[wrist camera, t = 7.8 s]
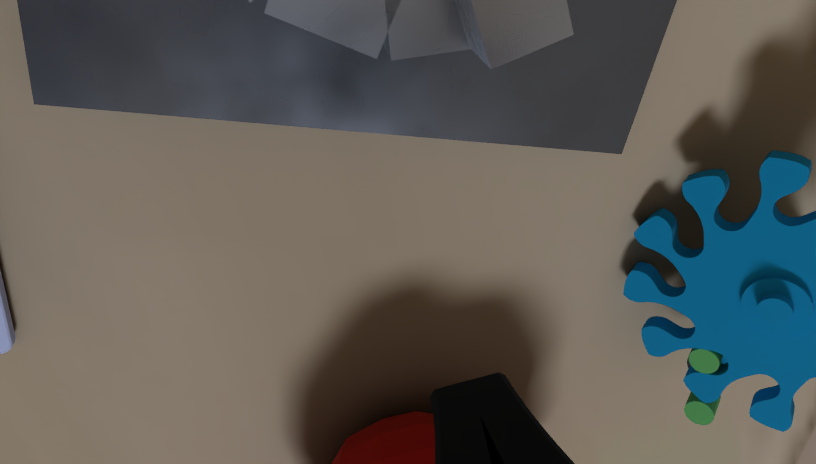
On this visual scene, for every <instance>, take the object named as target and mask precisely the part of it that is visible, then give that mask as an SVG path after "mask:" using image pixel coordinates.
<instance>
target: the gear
mask: <svg viewBox="0 0 816 464" xmlns="http://www.w3.org/2000/svg"><path fill="white" fill-rule="evenodd" d="M811 167H812V164H811V160H809V159H807V158H805V157H803V156H800V155H797V154H793V153H789V152H782V151H774V150H772V151H771V152H770V153H769V154H768V155H767V156H766V158H765V159H764V161H763V163H762V165H761V168H760V172H759V176H760V181H761V189H762V193H761V199H760V203H759V204H758V206H757V208H756V209H755V210H754V212H753V213H752V214H751V215H750V217H749V218H748V219H746V220H745V221H743V222H739V223H732V222H729V221H727V220H725V219H724V218H722V217H721V215H720V214H719V211H718V205H719V203H720V202H721V201H722V199H723V197H724V196H725V194H726V192H727V191H728V189H729V185H730V180H729V176H728V174H727V173H726V172H725V170H724V169H710V170H705V171H701V172H698V173H695V174H692V175H689V176H688V177H687V179H686V180H685V181H684V182H683V186H682V192H683V196H684V197H685V199H686V200H687V201H688V202H689V203H690V204H691V205H692V206H693V208H694V209H695V210H696V212H697V213H698V215H699V217H700V219H701V222H702V225H703V230H704V247H702V248H699V249H690V248H687V247H685V246H684V245H682V244H681V242H680V241H679V239H678V225H677V220H676V218H675V216H674V215H673V214H672V213H671V212H670V211H668V210H667V209H664V208H662V209H659V210H657V211H655V212H654V213H652V214H651V215H650V216H649V217H648V218H647V219H646V220H645V221H644V222H643V223H642V224H641V225H640V227H639V228H638V229H637V230H636V231H635V233H634V235H635V238H636V239H637V241H638V242H639V243H640V244H641V245H643V246H645V247H647V248H650V249H653V250H655V251H657V252H659V253H660V254H662V255H663V256H665V257H666V258H667V259H668V260H670V261H671V262H672V263H673V264H674V266H675V267H676V268H677V270H678V271H679V273H680V274H681V276H682V277H683V279H684V281H685V284H686V286H684V287H679V288H678V287H673V286H670V285H668V284H667V283H666V282H665V281H664V279H663V278H662V276H661V275H660V273H659V272H658V270H657V269H656V268H655V267H654V266H652V265H650V264H648V263H645V262H638V263H637V264H636V265H635V267H634V268H633V269H632V271H631V272H630V273H629V275H628V277H627V279H626V282H625V286H624V295H625V296H626V297H627V298H628V299H630V300H632V301H635V302H655V303H659V304H663V305H666V306H669V307H671V308H673V309H675V310H677V311H679V312H680V313H682V314H683V315H685V316H687V317H688V318H689V319H691V320H692V322H693V323H694V325H695V327H693V328H682V327H680V326H678V325H676V324H675V323H673V322H672V321H670V320H668V319H666V318H664V317H659V316H655V317H651V318H649V319H648V320H647V321H646V323H645V324H644V326H643V328H642V339H643V342H644V345H645V347H646V349H647V352H648V354H650V355H652V356H657V357H661V356H665V355H667V354H669V353H671V352H673V351H676V350H679V349H685V348H692V350H691V352H690V355H689V357H688V360H687V365H688V368H689V369H688V371H687V373H686V376H685V378H684V380H683V381H684V382H685V384H686V386H687V387H688V388H689V389H690V391H691V393H690V395H689V398H688V400H687V403H686V405H685V408H684V412H685V414H686V416H687V417H688V418H689V419H690V420H691V421H692V422H694V423H696V424H700V425H707V424H709V423H711V422H712V421H713V419H714V416H715V413H716V410H717V408H718V405H719V402H720V398H721V396H720V395H721V393H722V391H723V390H724V389H725V387H726V386H727V385H729V384H730V383H731V382H733V381H735V380H737V379H740V378H743V377H746V376H750V375H755V374H765V375H768V376H770V377H772V378H774V379H775V380H776V381H777V382H778V384H779V385H777V386H773V387H769V388H764V389H761V390H759V391H757V392H756V393H755V395H754V397H753V400H752V404H751V408H750V417H752V418H753V419H755V420H756V421H758V422H760V423H762V424H764V425H766V426H768V427H771V428H774V429H777V430H780V431H783V432H784V431H786V430H788V429H789V428H790V427H791V425H792V420H793V415H794V407H795V406H794V402H793V396H794V394H795V392H796V391H797V390H798V389H799V388H800V387H801V386H802V385H803V384H804V383H805V382H806V381H807V380H809V379H811V378H814V377H816V211H814V212H812V213H809V214H807V215H804V216H801V217H789V216H786V215H784V214H782V213H781V212H780V211H779V210H778V208H777V206H776V201H777V200H778V199H780V198H782V197H783V196H786V195H788V194H791V193H793V192H795V191H797V190H799V189H801V188H802V187H803V186H804V185H805V184H806V182H807V181H808V178H809V175H810V172H811Z"/></svg>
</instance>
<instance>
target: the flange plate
mask: <svg viewBox="0 0 816 464" xmlns="http://www.w3.org/2000/svg"><path fill="white" fill-rule="evenodd" d="M676 1H677V0H567V4H568V9H569V14H570V19H571V23H572V28H573V33H574V35H572V36H569V37H567V38H565V39H562V40H560V41H558V42H555V43H553V44H550V45H548V46H546V47H543V48H541V49H539V50H536V51H534V52H532V53H529V54H527V55H525V56H522V57H520V58H518V59H515V60H513V61H510V62H508V63H506V64H503V65H501V66H499V67H496V68H494V69H492V70H491V69H490V68H489V67H488V66H487V65H486V64H485V63H484V62H483V61H482V60H481V59H480V58H479V57H478V56H477V55H476V54H475V53H474V52H473V51H472V50H471V49H469V50H462V51H455V52H448V53H441V54H434V55H427V56H421V57H414V58H407V59H400V60H393V61H391V59H390V57H389V55H388V54H387V52H386V50H385V48H384V46H383V45H382V48H381V50H380V52H379V55H378V57H377V59H375V58H373V57H371V56H368V55H366V54H363V53H361V52H358V51H356V50H353V49H351V48H349V47H346V46H344V45H341V44H339V43H336V42H334V41H331V40H329V39H326V38H324V37H322V36H319V35H317V34H314V33H312V32H309V31H307V30H304V29H302V28H299V27H297V26H295V25H292V24H290V23H287V22H285V21H282V20H280V19H277V18H275V17H273V16H270V15H268V14H265V13H264V11H265V5H266V0H253V1H252V2H251V3H250V2H249V1H248V0H17V2H18V8H19V15H20V21H21V27H22V33H23V39H24V45H25V51H26V57H27V64H28V70H29V76H30V82H31V88H32V94H33V100H34V104H39V105H51V106H62V107H74V108H86V109H98V110H110V111H121V112H133V113H145V114H157V115H168V116H180V117H192V118H204V119H215V120H227V121H239V122H251V123H263V124H274V125H286V126H298V127H310V128H321V129H333V130H345V131H357V132H369V133H380V134H392V135H404V136H416V137H427V138H439V139H451V140H463V141H475V142H486V143H498V144H510V145H522V146H533V147H545V148H557V149H569V150H580V151H592V152H604V153H616V154H622V151H623V149H624V146H625V143H626V140H627V137H628V135H629V132H630V129H631V126H632V123H633V121H634V118H635V115H636V112H637V110H638V107H639V104H640V101H641V98H642V96H643V93H644V90H645V87H646V85H647V82H648V79H649V76H650V73H651V71H652V68H653V65H654V62H655V60H656V57H657V54H658V51H659V48H660V46H661V43H662V40H663V37H664V34H665V32H666V29H667V26H668V23H669V21H670V18H671V15H672V12H673V9H674V7H675V4H676Z"/></svg>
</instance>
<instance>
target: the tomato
mask: <svg viewBox="0 0 816 464" xmlns="http://www.w3.org/2000/svg"><path fill="white" fill-rule="evenodd" d="M331 464H435V432H434V419H433V414H432V413H425V412H419V411H413V412H409V413H404V414H400V415H396V416H391V417H387V418H383V419H381V420H379V421H377V422H375V423H374V424H372V425H370V426H368V427H366V428H364V429H362V430H360V431H359V432H357V433H355V434H353V435H351V436H350V437H348V438H346V440H345V442H344V443H343V445H342V447H341V448H340V450H339V452H338V453H337V455H336V457H335V458H334V460H333V462H332V463H331Z"/></svg>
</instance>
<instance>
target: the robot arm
mask: <svg viewBox="0 0 816 464" xmlns="http://www.w3.org/2000/svg"><path fill="white" fill-rule="evenodd" d="M14 342H15V332H14V328H13V323H12V319H11V315H10V310H9V306H8V301H7V297H6V292H5V288H4V283H3V279H2V274H1V270H0V354H2V353H5V352H7V351H9V350H10V348H11V347H12V345H13V344H14ZM430 400H431V404H432V410H433V419H434V432H435V464H574V463H573V461H572V460H571V459H570V458H569V457H568V456H567V455H566V454H565V453H564V451H563V450H562V449H561V448H560V447H559V446H558V445H557V444H556V442H555V441H554V440H553V439H552V438H551V437H550V435H549V434H548V433H547V432H546V431H545V429H544V428H543V427H542V426H541V424H540V423H539V422H538V421H537V420H536V418H535V417H534V416H533V415H532V413H531V412H530V411H529V409H528V408H527V407H526V405H525V404H524V403H523V401H522V400H521V399H520V397H519V396H518V394H517V393H516V391H515V390H514V389H513V387H512V386H511V384H510V383H509V381H508V379H507V378H506V376H505V375H503V374H501V373H495V374H491V375H487V376H484V377H480V378H476V379H472V380H469V381H465V382H461V383H457V384H454V385H450V386H446V387H443V388H439V389H435V390H434V391H433V392H432V393H431V395H430Z"/></svg>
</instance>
